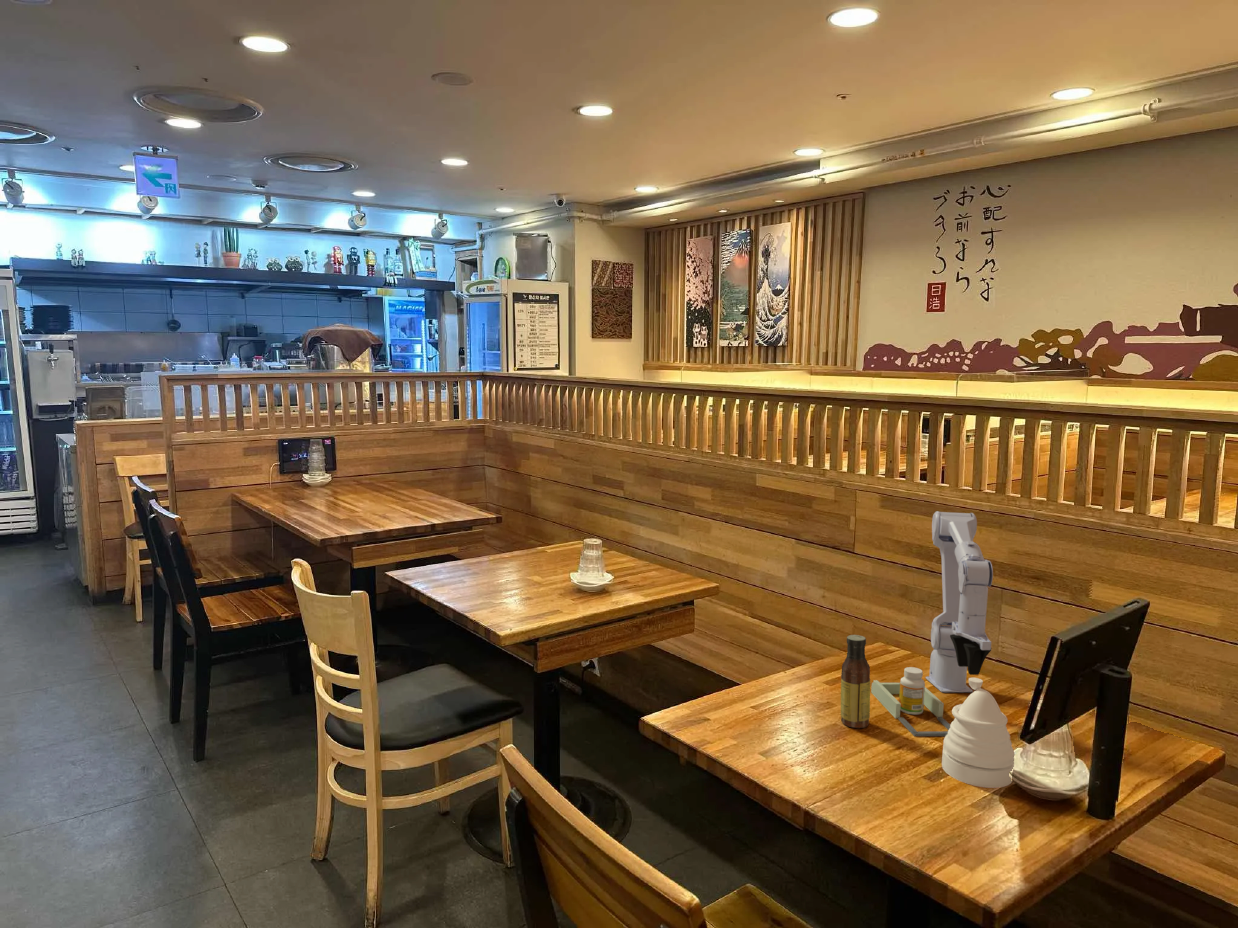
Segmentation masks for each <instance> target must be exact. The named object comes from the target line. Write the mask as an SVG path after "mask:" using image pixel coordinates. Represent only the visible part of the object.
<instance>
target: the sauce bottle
mask: <svg viewBox="0 0 1238 928" xmlns="http://www.w3.org/2000/svg"><path fill="white" fill-rule="evenodd" d="M846 644H847V650H846V651H847V652H846V658H845V659H844V661H843V663H842V665H841V674H840V675H841V676H840V678H841V680H840V722H842V724H843V725H845V726H846V727H849V728H854V729H863V728H867V727H868V726H869V723H870V716H871V714H870V712H871V711H870V710H871V668H870V667H871V665H870V664H869V662H868V660H867V658H866V654H865V653H866V645H867V638H866V637H865V636H863V635H859V634H850V635H848V636H846Z"/></svg>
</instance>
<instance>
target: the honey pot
mask: <svg viewBox="0 0 1238 928" xmlns="http://www.w3.org/2000/svg"><path fill="white" fill-rule="evenodd" d="M983 682H984V681H983V679H981V678H978V677H968V685H969V686H970V687H969V688H971V689H972V690H973V692H971V693H970V694H969V695H968V696H967V698H966V699H965V700H964V701H963V703H959V704H956V705H955V706H953V707H952V710H951V713H952V716H953V717H954V719H953V721H952V722H951V723H950V728H949V730H948V729H947V731H948V734H947V735H946V736H944V738H943V745H942V755H941V756H942V757H941V768H942V769H943V772H945V773H946V774H947V775H949V776H950V777H951V778H953V779H954V780H957V781H958V782H962V783H965V784H967V785H970V786H974V787H980V788H989V789H992V788H993V789H997V788H1004V787H1007V786H1010V785H1011V783H1012V782H1013V780H1012V781H1011V778H1010V777H1009V772H1010V771H1012V769H1013V767H1015V755H1016V754H1015V751H1014V748H1013V746H1012V745H1013V743H1012V740H1011V734H1010V733H1009V732H1010V731H1008V728H1007V723H1008V717H1007V716H1006V715H1005V714H1004V713H1003V712H1002V711H1001V708H1000V707H999V704H998V703H997V701H996V699H995V697H994V696H993V695H992V694H991V692H989V691H987V690H986V689H984V688H982V686H983Z"/></svg>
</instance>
